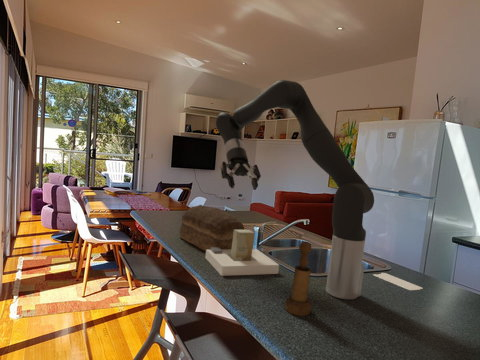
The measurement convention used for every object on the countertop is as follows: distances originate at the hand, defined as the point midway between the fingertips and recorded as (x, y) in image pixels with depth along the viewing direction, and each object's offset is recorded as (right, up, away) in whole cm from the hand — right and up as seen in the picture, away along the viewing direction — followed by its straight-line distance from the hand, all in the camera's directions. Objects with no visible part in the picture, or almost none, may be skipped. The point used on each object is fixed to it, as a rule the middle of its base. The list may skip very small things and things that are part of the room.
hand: (244, 187), depth 126 cm
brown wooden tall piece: (+13, -31, -33) cm, 47 cm away
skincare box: (-1, -27, -1) cm, 27 cm away
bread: (-14, -24, +20) cm, 34 cm away
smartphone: (+53, -33, -1) cm, 62 cm away
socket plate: (-1, -27, -1) cm, 27 cm away
